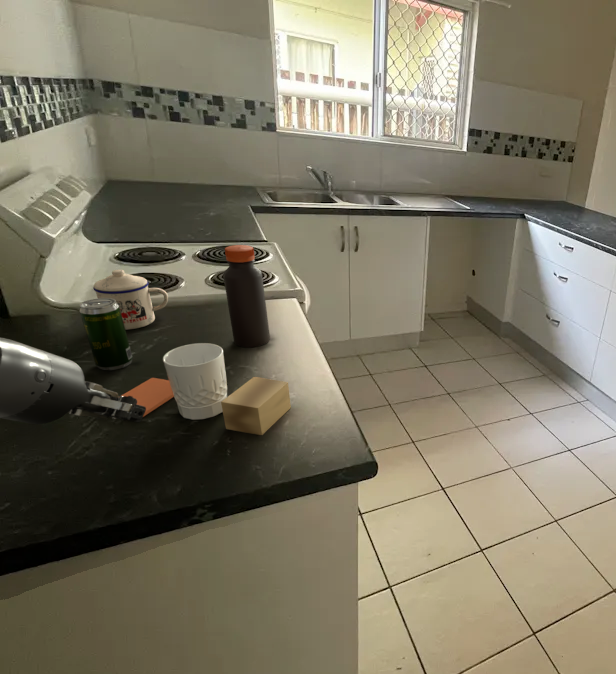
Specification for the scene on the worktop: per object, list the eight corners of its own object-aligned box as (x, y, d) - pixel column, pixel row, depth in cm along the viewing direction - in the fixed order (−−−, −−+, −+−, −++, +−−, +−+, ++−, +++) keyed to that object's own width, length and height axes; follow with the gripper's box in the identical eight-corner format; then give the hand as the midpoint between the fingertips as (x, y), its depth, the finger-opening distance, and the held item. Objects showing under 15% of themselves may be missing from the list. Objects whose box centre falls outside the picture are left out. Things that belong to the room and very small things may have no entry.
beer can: (134, 355, 90) (118, 296, 85) (133, 367, 86) (116, 306, 81) (97, 360, 87) (79, 299, 82) (94, 373, 83) (75, 310, 78)
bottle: (267, 332, 104) (255, 242, 96) (273, 344, 99) (261, 251, 91) (232, 337, 101) (217, 244, 92) (236, 350, 96) (220, 253, 87)
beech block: (225, 429, 73) (220, 401, 71) (257, 402, 80) (254, 376, 78) (262, 435, 73) (257, 408, 70) (291, 407, 80) (288, 382, 78)
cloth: (100, 411, 74) (99, 407, 74) (152, 380, 83) (152, 377, 83) (141, 418, 73) (140, 415, 73) (189, 386, 83) (188, 383, 82)
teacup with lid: (101, 333, 97) (85, 279, 92) (106, 317, 103) (92, 265, 99) (172, 326, 103) (160, 274, 98) (172, 310, 110) (162, 262, 105)
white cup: (163, 416, 74) (149, 360, 70) (203, 391, 82) (192, 339, 77) (206, 426, 73) (194, 370, 69) (243, 400, 80) (234, 348, 76)
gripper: (-67, 405, 48) (82, 433, 64) (50, 427, 47) (171, 450, 63) (-26, 337, 50) (108, 380, 67) (86, 356, 49) (194, 395, 65)
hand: (138, 414), depth 65 cm, fingers closed
